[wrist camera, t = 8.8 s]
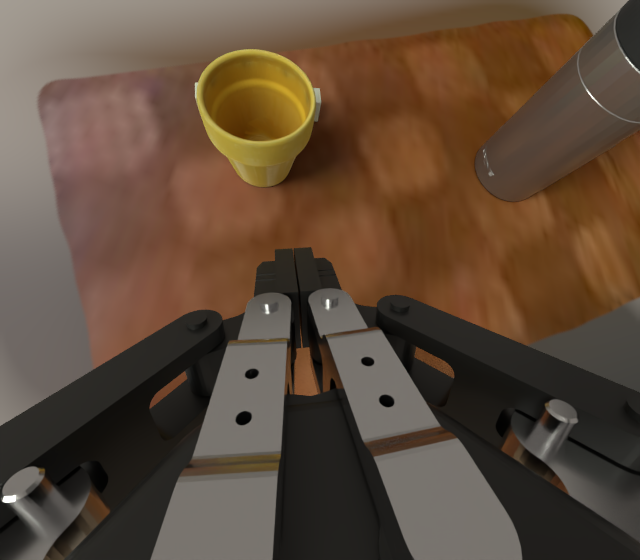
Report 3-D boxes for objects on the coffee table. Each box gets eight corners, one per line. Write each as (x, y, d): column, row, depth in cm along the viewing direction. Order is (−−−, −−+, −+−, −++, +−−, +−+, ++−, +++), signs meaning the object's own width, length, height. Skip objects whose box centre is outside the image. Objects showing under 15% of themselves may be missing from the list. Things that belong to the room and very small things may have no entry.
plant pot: (242, 110, 37) (231, 28, 28) (319, 147, 37) (334, 78, 28) (200, 177, 34) (171, 111, 25) (283, 216, 35) (286, 165, 25)
